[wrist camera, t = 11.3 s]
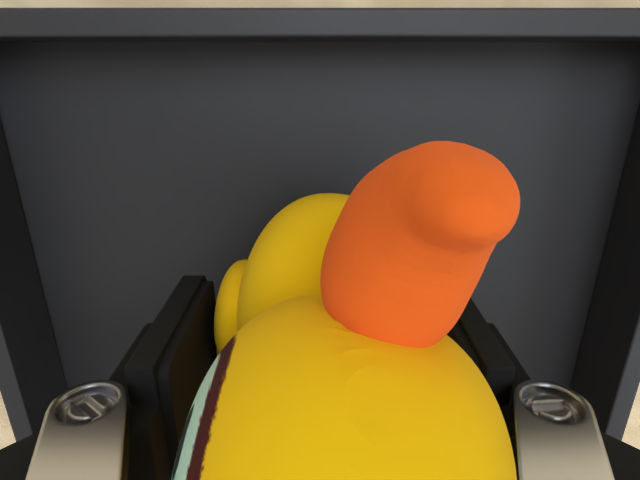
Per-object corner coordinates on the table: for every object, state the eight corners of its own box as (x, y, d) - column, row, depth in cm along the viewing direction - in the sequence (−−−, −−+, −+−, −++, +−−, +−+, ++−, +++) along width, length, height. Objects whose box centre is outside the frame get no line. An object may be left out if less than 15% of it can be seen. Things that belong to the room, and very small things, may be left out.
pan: (562, 445, 18) (601, 507, 15) (75, 445, 18) (35, 507, 15) (668, 19, 12) (757, 8, 10) (-33, 18, 12) (-122, 7, 10)
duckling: (272, 67, 12) (81, 79, 2) (469, 119, 12) (973, 302, 3) (205, 411, 16) (35, 925, 6) (356, 439, 16) (407, 959, 7)
